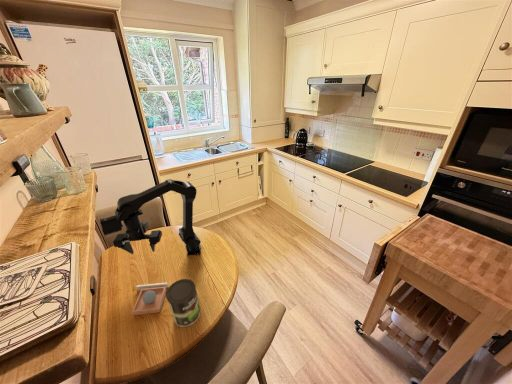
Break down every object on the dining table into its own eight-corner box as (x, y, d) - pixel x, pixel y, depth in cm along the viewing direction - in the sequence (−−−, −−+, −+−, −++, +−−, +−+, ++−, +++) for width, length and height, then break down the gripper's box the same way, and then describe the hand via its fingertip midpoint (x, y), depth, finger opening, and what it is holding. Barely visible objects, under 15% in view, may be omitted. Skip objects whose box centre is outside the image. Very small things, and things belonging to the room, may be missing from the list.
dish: (166, 289, 93) (165, 286, 92) (160, 312, 84) (158, 308, 83) (142, 292, 92) (141, 289, 91) (133, 315, 84) (131, 311, 83)
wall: (168, 286, 95) (167, 282, 94) (168, 287, 94) (166, 283, 93) (138, 289, 94) (136, 285, 93) (137, 290, 93) (136, 286, 92)
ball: (158, 294, 91) (156, 287, 88) (155, 305, 86) (152, 298, 84) (146, 295, 90) (143, 288, 88) (142, 307, 86) (139, 299, 83)
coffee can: (206, 309, 85) (201, 286, 78) (186, 332, 78) (179, 309, 71) (188, 297, 90) (182, 274, 83) (168, 317, 82) (159, 294, 76)
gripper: (161, 212, 97) (168, 238, 105) (118, 216, 95) (128, 242, 103) (154, 227, 88) (163, 255, 95) (106, 232, 86) (119, 259, 93)
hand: (143, 252), depth 97 cm, fingers open, 9 cm apart
